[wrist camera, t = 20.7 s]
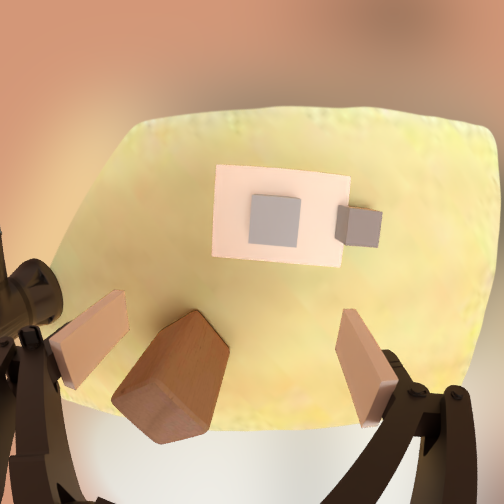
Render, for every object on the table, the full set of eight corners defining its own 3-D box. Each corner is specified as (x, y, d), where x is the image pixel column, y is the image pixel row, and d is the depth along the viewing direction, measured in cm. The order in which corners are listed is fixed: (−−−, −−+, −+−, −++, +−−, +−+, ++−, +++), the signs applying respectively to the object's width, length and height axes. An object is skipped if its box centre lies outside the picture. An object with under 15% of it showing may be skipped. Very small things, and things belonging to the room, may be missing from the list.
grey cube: (334, 238, 40) (345, 245, 35) (338, 204, 39) (349, 207, 34) (364, 240, 40) (377, 247, 35) (368, 208, 39) (382, 212, 34)
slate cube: (252, 233, 41) (248, 243, 34) (255, 193, 40) (251, 194, 33) (292, 237, 41) (296, 247, 34) (296, 197, 39) (301, 199, 33)
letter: (212, 255, 43) (211, 256, 42) (216, 164, 39) (216, 164, 39) (339, 266, 42) (340, 267, 41) (350, 176, 38) (350, 176, 38)
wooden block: (157, 331, 47) (105, 401, 28) (197, 306, 45) (152, 380, 26) (191, 370, 48) (157, 448, 29) (232, 349, 47) (210, 435, 27)
